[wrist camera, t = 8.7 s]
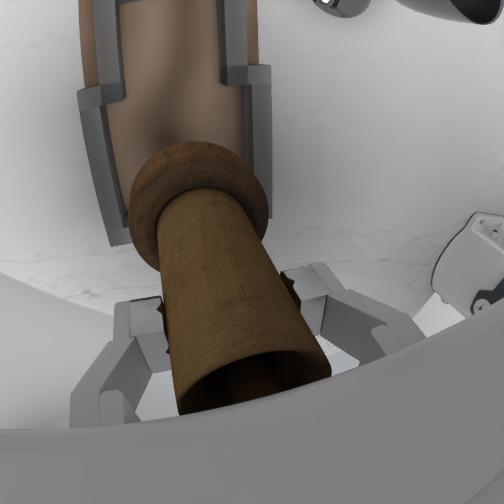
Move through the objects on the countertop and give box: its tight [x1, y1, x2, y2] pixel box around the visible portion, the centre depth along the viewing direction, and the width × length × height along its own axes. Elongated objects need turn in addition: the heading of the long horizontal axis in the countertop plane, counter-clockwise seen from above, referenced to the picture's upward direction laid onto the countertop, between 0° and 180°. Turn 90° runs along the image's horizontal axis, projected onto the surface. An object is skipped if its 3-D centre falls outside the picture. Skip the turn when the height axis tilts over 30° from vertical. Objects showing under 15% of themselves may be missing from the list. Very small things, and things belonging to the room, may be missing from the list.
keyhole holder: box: [77, 0, 272, 247], centre depth 22 cm, size 14×21×4 cm, turn 2°
